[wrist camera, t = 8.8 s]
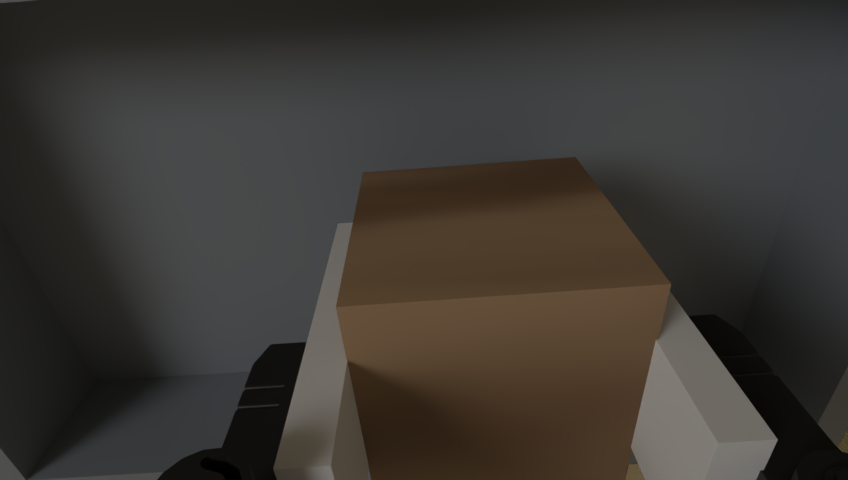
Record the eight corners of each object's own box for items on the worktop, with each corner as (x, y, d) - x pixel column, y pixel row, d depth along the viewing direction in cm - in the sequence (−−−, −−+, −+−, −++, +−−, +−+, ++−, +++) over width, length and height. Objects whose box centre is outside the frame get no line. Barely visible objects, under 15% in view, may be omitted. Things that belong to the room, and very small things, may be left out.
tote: (-155, -44, 12) (-454, -32, 8) (911, -129, 12) (1190, -166, 8) (95, 381, 20) (10, 500, 16) (743, 340, 20) (834, 451, 15)
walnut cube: (362, 172, 12) (335, 307, 7) (575, 156, 12) (670, 283, 7) (385, 332, 14) (375, 500, 10) (559, 320, 14) (623, 484, 10)
